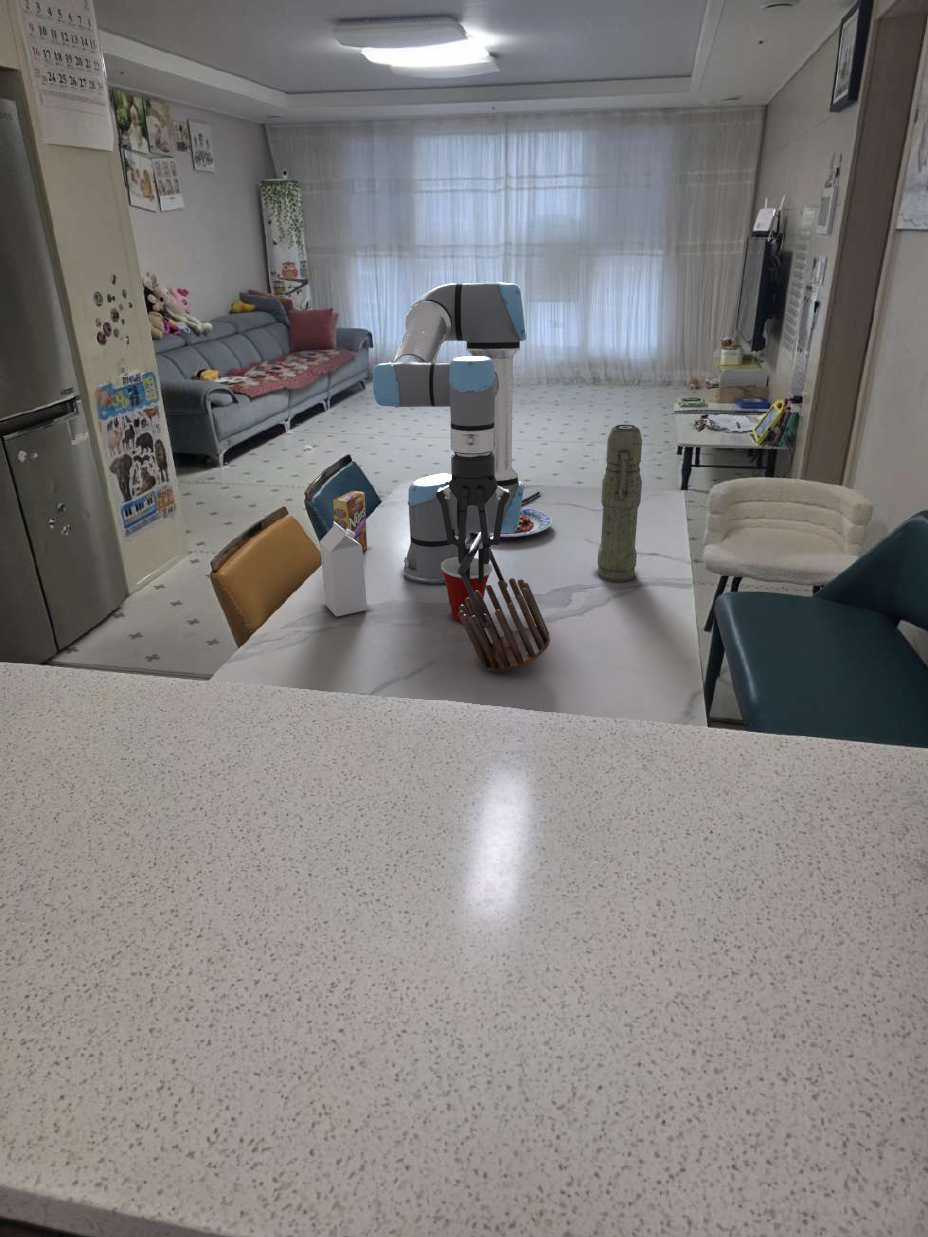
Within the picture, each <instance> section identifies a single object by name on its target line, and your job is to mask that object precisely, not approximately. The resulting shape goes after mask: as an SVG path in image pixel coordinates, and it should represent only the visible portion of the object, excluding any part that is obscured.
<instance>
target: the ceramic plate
mask: <svg viewBox="0 0 928 1237" xmlns="http://www.w3.org/2000/svg"><path fill="white" fill-rule="evenodd" d="M552 525H553V518H552V517H551V516H550V515H549V514H547V513H546V512H544V511H542V510H539V509H534V508H530V507H523V506H521V511H520V518H519V524H518V528H517V530H516V531H514V532H512V533H501V535H500V538H518V537H524V536H531V535H535V534H538V533H541V532H544V531H546V530H547V529H549V528H550V527H552ZM475 534H476V535H478V534H479V533H474V535H475ZM493 534H494V533H489V536H490V537H492V536H493Z"/></svg>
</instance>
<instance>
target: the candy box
mask: <svg viewBox="0 0 928 1237" xmlns="http://www.w3.org/2000/svg"><path fill="white" fill-rule="evenodd" d="M365 498H366V496H365V492H363V491H357V490H351V491H349V492H347V493H344V494H343V495H341V496H338V497H336V498H334V499H333V500H332V503H333V519H334V520H333V521H334V522H336V523H337V524H338V525H339V526H340V527H342V528H343V529H344V530H345V531H346V529H349V530H350V531H352V532H353V533H355V536H354V538H353V539H354V540H355V541H357V542H358V543H359V544H360V545H361V546H362V550H363V551H365V550H367V549H368V540H367V539H368V537H367V521H366V520H367V519H366V518H367V517H366V516H367V515H366V501H365Z"/></svg>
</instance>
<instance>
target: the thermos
mask: <svg viewBox="0 0 928 1237" xmlns="http://www.w3.org/2000/svg"><path fill="white" fill-rule="evenodd" d="M640 430H641V429H640V428H639V427H637V426H636V425H634V424H617V425H614V426H613V427H611V429H610V432H609V434H608V437H607V440H606V458H605V461H606V467H605V472H604V475H603V478H602V480H601V498H600V499H601V500H600V502H601V505H602V515H601V516H602V517H601V518H602V519H601V520H602V521H601V536H600V544H599V546H598V550H597V576H598V577H599V578H600V579H602V580H604V581H609V582H617V583H619V582H620V583H621V582H627V581H631V580H633V579H634V578H635V572H636V570H635V569H636V566H637V556H638V552H637V549H636V537H637V526H638V511H639V507H640V505H641V500H642V485H643V480H642V477H641V467H640V466H641V464H640V463H641V462H642V450H643V438H642V433H641V431H640Z"/></svg>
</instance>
